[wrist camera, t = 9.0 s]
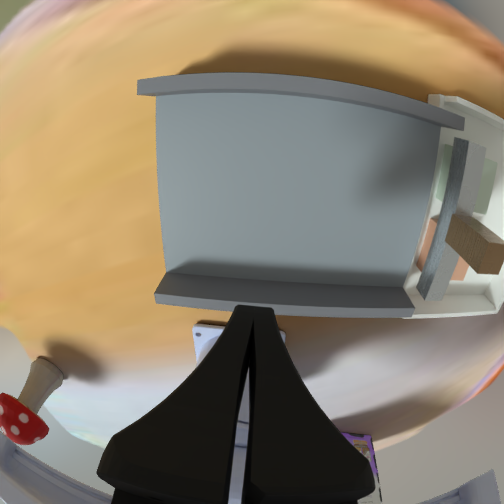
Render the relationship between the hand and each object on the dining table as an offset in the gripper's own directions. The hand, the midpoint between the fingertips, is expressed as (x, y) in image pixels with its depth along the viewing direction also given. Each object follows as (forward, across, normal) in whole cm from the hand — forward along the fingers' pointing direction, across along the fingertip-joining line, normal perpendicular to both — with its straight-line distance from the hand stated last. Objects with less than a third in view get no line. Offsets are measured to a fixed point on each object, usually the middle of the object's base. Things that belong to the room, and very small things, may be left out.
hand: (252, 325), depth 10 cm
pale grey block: (+7, -12, -3) cm, 14 cm away
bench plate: (+10, -2, -3) cm, 10 cm away
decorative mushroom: (+10, +31, +26) cm, 41 cm away
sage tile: (+9, -14, -6) cm, 18 cm away
